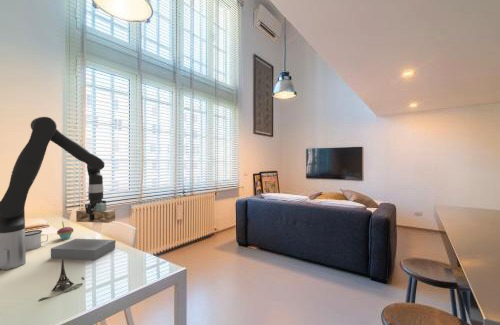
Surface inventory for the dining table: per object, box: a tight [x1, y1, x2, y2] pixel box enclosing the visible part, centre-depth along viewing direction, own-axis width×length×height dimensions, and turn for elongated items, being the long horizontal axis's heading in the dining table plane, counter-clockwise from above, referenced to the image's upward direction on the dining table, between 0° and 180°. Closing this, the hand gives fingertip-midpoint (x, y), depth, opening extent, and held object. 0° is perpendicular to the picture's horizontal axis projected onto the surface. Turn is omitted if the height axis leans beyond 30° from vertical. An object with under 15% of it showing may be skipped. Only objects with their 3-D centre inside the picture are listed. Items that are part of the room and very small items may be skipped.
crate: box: [95, 202, 107, 211], centre depth 139 cm, size 4×4×4 cm
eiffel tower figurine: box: [37, 256, 85, 302], centre depth 91 cm, size 15×10×13 cm
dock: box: [50, 238, 117, 261], centre depth 126 cm, size 16×25×5 cm, turn 84°
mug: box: [25, 229, 49, 251], centre depth 135 cm, size 12×10×9 cm
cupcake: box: [56, 220, 74, 240], centre depth 150 cm, size 9×8×12 cm
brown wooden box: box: [75, 208, 116, 224], centre depth 139 cm, size 21×6×6 cm, turn 84°
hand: (96, 219), depth 139 cm, fingers closed on brown wooden box, 5 cm apart
